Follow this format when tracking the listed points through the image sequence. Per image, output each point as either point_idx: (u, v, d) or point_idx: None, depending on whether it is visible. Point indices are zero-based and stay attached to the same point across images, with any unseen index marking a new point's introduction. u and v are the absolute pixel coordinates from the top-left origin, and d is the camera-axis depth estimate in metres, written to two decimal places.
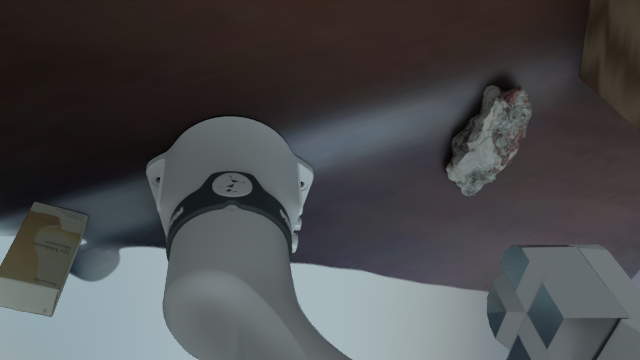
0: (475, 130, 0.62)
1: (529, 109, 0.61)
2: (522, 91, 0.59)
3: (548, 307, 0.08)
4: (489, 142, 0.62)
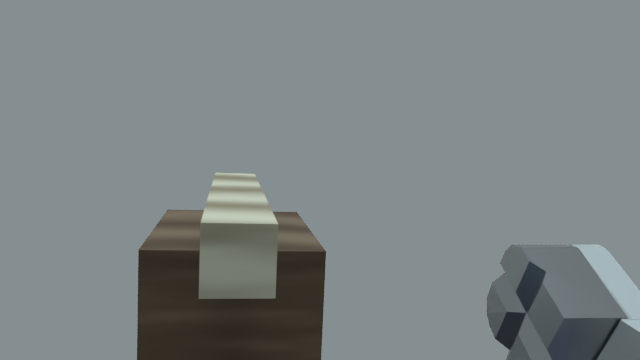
0: None
1: None
2: None
3: (548, 307, 0.08)
4: None
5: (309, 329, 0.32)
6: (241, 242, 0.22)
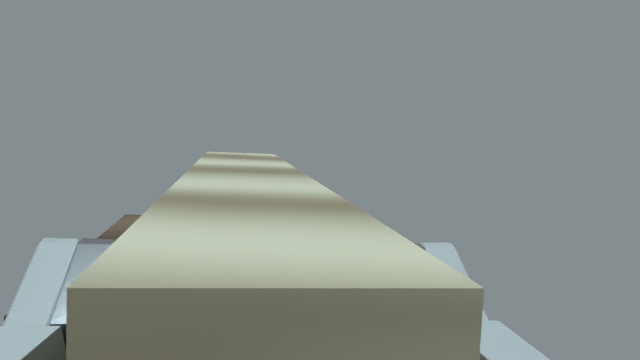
0: None
1: None
2: None
3: None
4: None
5: None
6: None
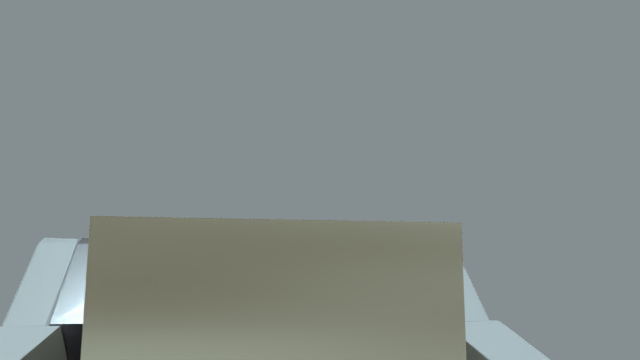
0: None
1: None
2: None
3: None
4: None
5: None
6: (295, 314, 0.04)
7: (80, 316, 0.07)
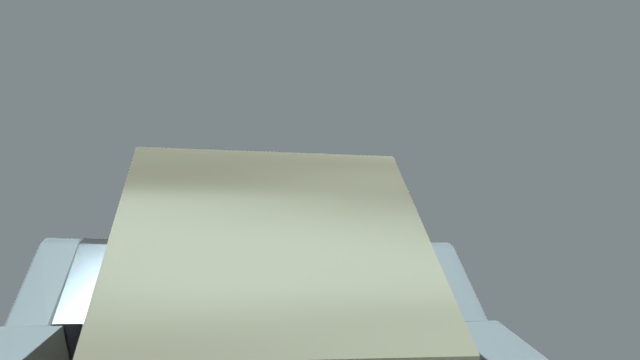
0: None
1: None
2: None
3: None
4: None
5: None
6: (280, 187, 0.06)
7: (82, 316, 0.07)
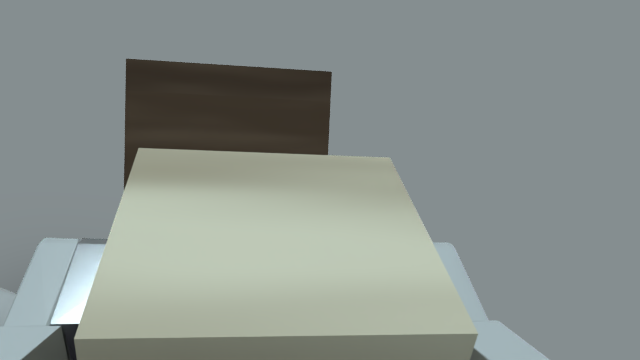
0: None
1: None
2: None
3: None
4: None
5: None
6: (280, 183, 0.06)
7: (81, 316, 0.07)
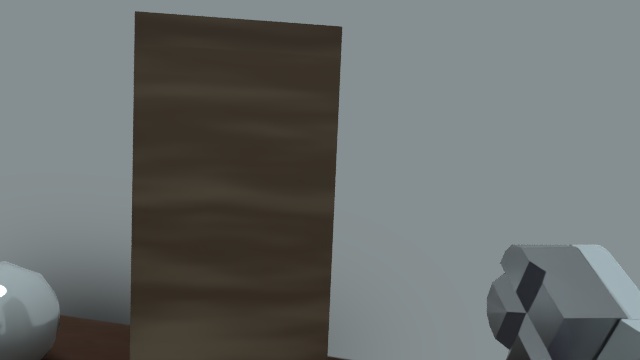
0: None
1: None
2: None
3: (548, 307, 0.08)
4: None
5: (323, 114, 0.29)
6: None
7: None
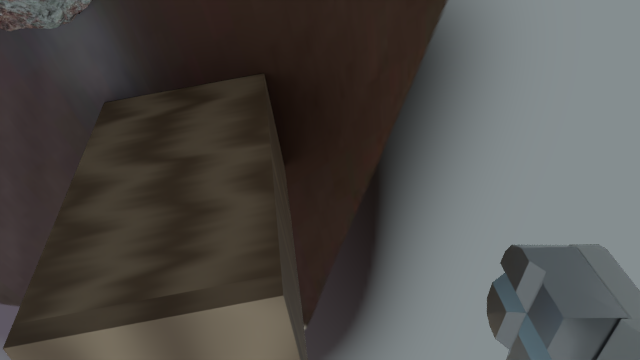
0: None
1: (61, 19, 0.41)
2: None
3: (548, 307, 0.08)
4: None
5: None
6: None
7: None
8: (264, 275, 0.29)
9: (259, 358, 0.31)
